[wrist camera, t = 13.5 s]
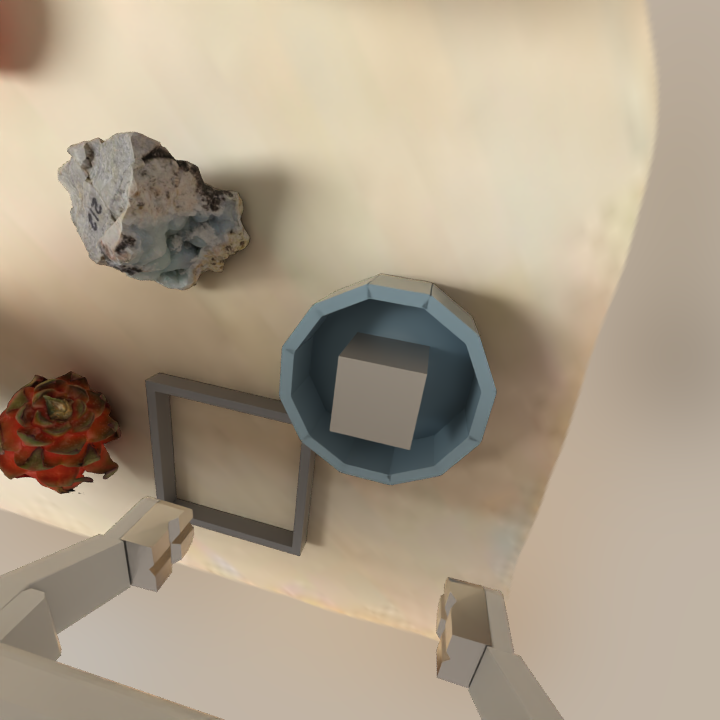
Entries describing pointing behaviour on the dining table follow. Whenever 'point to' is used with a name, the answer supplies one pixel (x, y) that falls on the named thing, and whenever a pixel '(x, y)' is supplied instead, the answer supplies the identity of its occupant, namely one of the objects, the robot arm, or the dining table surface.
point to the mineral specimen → (150, 211)
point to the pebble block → (379, 389)
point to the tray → (204, 516)
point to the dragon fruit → (57, 433)
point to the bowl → (441, 391)
